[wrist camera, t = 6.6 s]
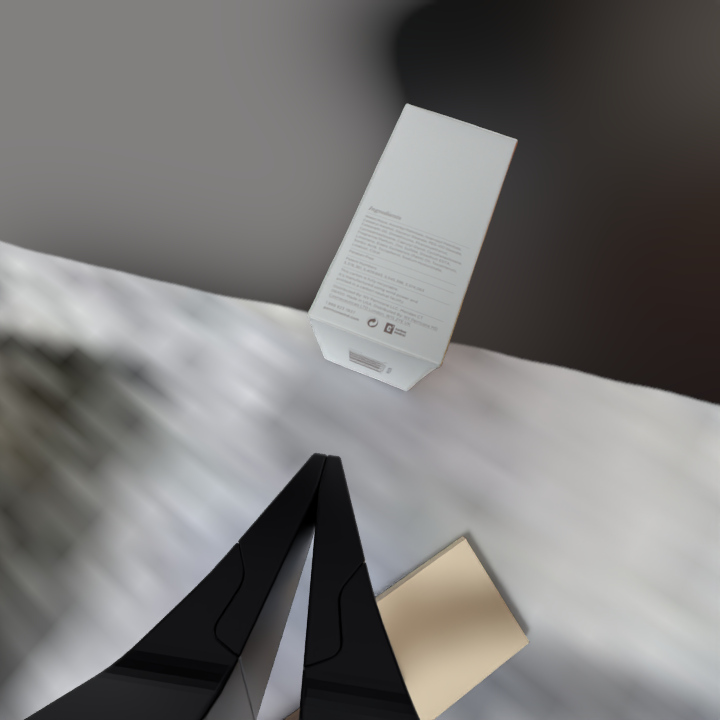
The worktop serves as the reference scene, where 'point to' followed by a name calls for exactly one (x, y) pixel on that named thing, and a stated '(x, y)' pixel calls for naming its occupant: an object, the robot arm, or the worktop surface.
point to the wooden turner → (447, 628)
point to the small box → (411, 249)
